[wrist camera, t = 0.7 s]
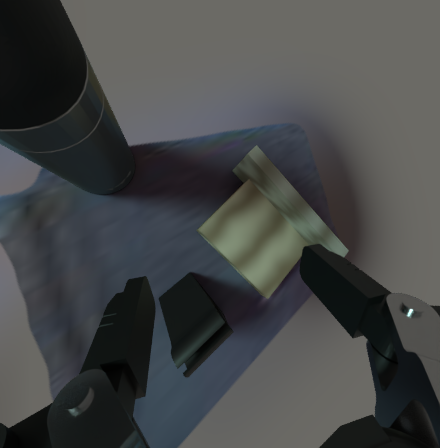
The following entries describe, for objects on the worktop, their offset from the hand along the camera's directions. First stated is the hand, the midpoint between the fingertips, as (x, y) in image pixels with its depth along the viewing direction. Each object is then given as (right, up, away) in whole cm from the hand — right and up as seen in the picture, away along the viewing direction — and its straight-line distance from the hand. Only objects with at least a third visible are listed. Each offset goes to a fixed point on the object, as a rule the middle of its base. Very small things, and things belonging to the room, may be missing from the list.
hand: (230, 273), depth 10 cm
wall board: (+5, 0, +24) cm, 24 cm away
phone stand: (-5, -11, +21) cm, 24 cm away
